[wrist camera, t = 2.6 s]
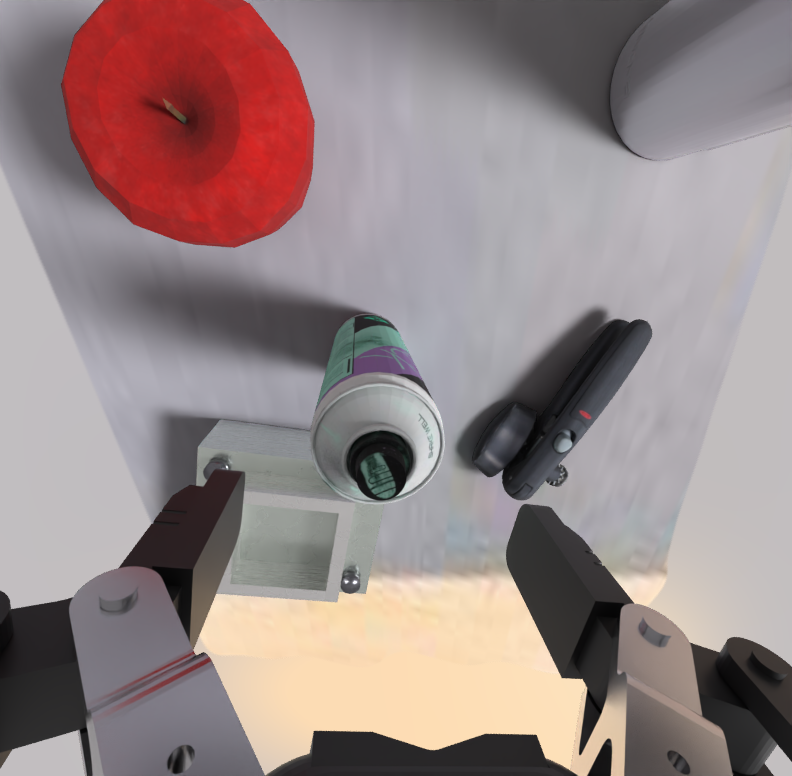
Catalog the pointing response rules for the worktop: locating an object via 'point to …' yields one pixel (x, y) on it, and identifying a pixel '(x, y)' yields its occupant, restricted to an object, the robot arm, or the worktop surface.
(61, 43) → the worktop surface
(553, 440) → the can opener
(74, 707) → the robot arm
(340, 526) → the grey square holder
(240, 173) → the apple
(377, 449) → the spray can
